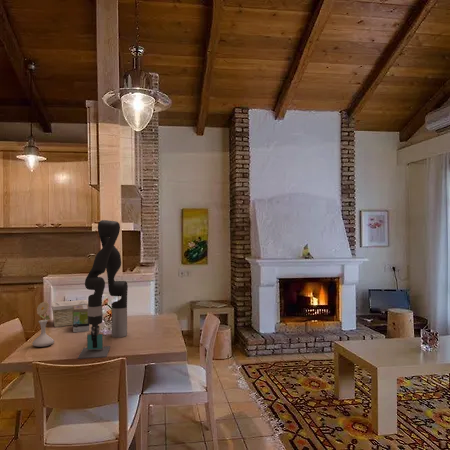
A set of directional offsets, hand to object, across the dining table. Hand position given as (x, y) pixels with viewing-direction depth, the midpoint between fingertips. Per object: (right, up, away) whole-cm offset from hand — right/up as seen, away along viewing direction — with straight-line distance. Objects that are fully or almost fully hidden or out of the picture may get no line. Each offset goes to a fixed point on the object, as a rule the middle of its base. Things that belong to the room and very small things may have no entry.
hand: (95, 346), depth 220 cm
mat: (0, -3, -2) cm, 3 cm away
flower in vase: (-32, -3, +12) cm, 35 cm away
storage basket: (-38, -3, +65) cm, 75 cm away
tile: (0, -1, 0) cm, 1 cm away
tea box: (-25, -3, +49) cm, 54 cm away
